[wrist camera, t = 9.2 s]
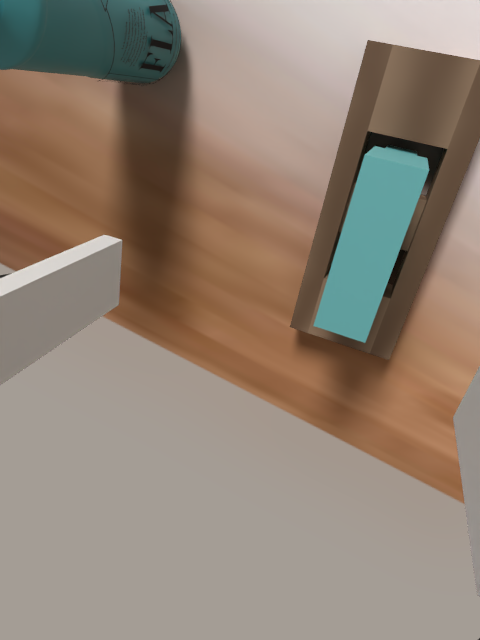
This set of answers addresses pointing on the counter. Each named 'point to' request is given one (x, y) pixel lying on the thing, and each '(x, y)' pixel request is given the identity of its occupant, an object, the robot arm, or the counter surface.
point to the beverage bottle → (90, 38)
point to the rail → (431, 210)
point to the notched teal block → (371, 239)
